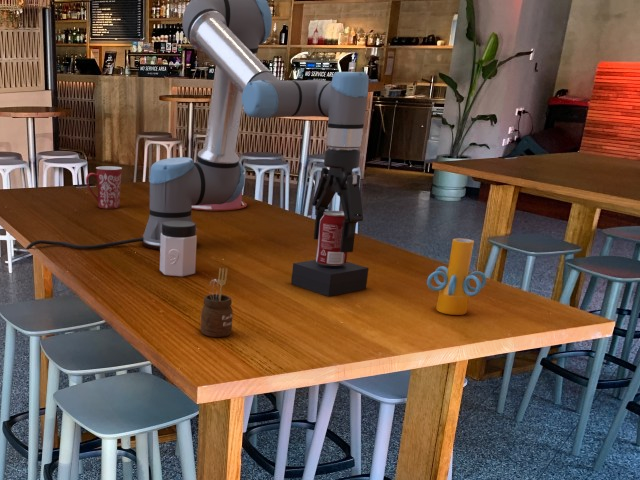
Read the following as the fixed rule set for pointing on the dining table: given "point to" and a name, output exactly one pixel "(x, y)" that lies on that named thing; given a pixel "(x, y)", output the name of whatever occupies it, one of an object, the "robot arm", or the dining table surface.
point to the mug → (107, 186)
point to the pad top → (330, 272)
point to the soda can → (331, 240)
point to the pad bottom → (328, 286)
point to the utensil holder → (217, 312)
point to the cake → (223, 205)
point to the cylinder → (456, 279)
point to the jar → (178, 248)
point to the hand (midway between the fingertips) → (332, 245)
